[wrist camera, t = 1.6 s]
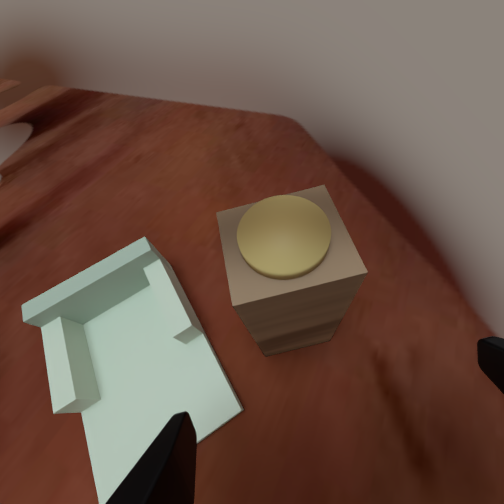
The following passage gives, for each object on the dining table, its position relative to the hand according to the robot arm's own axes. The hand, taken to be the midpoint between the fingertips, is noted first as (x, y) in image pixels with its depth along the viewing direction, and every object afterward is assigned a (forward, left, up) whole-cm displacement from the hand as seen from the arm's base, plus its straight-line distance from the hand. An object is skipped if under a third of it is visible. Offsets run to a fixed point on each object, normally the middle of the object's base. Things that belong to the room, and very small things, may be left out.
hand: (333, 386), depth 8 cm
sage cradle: (+10, +9, -12) cm, 17 cm away
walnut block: (+5, -2, -12) cm, 13 cm away
